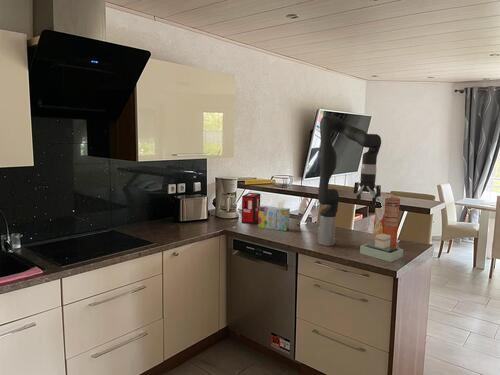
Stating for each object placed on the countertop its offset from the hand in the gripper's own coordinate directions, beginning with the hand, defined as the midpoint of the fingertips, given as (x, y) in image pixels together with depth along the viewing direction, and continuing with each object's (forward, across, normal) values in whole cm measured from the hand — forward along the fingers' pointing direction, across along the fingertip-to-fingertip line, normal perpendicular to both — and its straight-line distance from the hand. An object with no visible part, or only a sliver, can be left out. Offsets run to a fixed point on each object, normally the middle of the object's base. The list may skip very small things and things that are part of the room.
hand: (366, 203), depth 200 cm
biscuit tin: (+29, +7, +9) cm, 31 cm away
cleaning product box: (+31, -97, +10) cm, 102 cm away
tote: (+30, +6, +9) cm, 32 cm away
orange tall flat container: (+30, -4, +33) cm, 45 cm away
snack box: (+31, -72, +7) cm, 78 cm away
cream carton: (+24, +6, +9) cm, 26 cm away
